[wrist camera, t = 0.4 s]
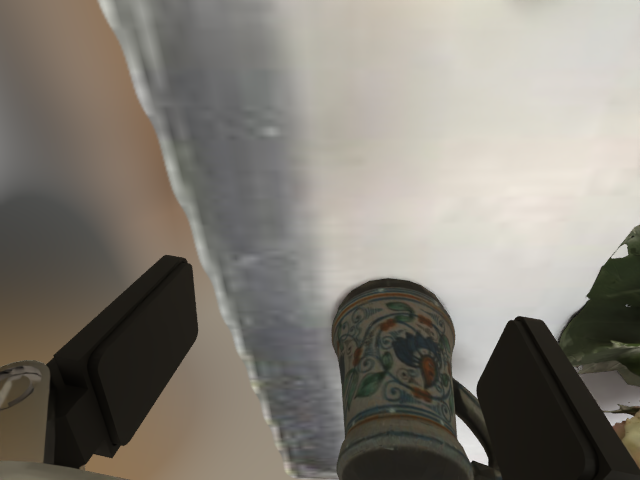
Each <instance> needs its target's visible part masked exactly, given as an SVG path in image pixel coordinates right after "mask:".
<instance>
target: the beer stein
mask: <svg viewBox="0 0 640 480" xmlns="http://www.w3.org/2000/svg"><path fill="white" fill-rule="evenodd" d="M332 344H333V347H334V350H335V353H336V355H337V357H338V361H339V367H340V375H341V383H342V398H343V413H344V427H345V440H344V441H343V443H342V446H341V449H340V453H339V457H338V462H337V475H338V477H339V480H503V479H502V476H501V473H500V469H499V466H498V463H497V460H496V456H495V453H494V450H493V446H492V443H491V440H490V437H489V433H488V430H487V427H486V423H485V420H484V417H483V414H482V410H481V407H480V404H479V400H478V399H477V398H476V397H475V396H474V395H473V394H472V393H471V392H470V391H468V390H467V389H466V388H465V387H464V386H462V385H461V384H460V383H459V382H457V381H456V380H455V379H454V378H453V377H452V367H451V359H452V352H453V348H454V345H455V330H454V326H453V323H452V320H451V318H450V316H449V314H448V313H447V311H446V310H445V309H444V307H443V306H442V305H441V303H440V302H439V300H438V299H437V297H436V296H435V294H433V293H432V292H430V291H429V290H427V289H426V288H424V287H423V286H421V285H419V284H416V283H413V282H410V281H405V280H397V279H389V278H387V279H381V280H374V281H369V282H367V283H365V284H363V285H362V286H360V287H358V288H356V289H354V290H352V291H351V292H350V293H349V295H348V296H347V297H346V298H345V300H344V301H343V302H342V304H341V305H340V306H339V309H338V312H337V315H336V317H335V319H334V322H333V325H332ZM455 414H456V415H457V416H458V417H459V418H460V419H462V420H463V421H464V423H465V424H466V425H467V426H468V427H469V428H470V430H471V431H472V432H473V434H474V435H475V436H476V437H477V439H478V440H479V442H480V443H481V445H482V446H483V448H484V450H485V452H486V454H487V456H488V459H489V460H488V466H487V465H484V464H481V463H478V462H475V461H472V462H471V463H470V461H469V459H468V457H467V455H466V453H465V451H464V449H463V447H462V446H461V444H460V443H459V442H458V440H457V431H456V417H455Z"/></svg>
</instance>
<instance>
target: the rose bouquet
mask: <svg viewBox="0 0 640 480" xmlns="http://www.w3.org/2000/svg"><path fill="white" fill-rule="evenodd" d="M623 244H627V246H628V247H627V248H628V254H629V255H628V256H626V257H624V258H616V259H614V258H613V259H612V258H611V257H612V256H611V257H610V258H609V260H608V261H607V262H606V264H605V265H604V266H603V267H602V268H601V271H600V273H599V275H598V277H597V279H596V281H595V283H594V285H593V287H592V289H591V290H590V292H589V293H588V295H587V297H588V298H589V299H591V300H589V301H588V302H587V304H586V305H585V307H584V308H583V309H582V310H581V312H580V313H579V314H578V315H577V316H576V317H575V318H573V319H572V320H571V322H570V323H569V325H568V326H567V328H566V329H565V330H564V332H563V333H562V336H561V338H560V342H559V346H560V347H561V349H562V350H563V352H564V353H565V355H566V356H567V358H568V359H569V361H570V363H571V364H572V366H573V367H577V368H578V366H580V365H582V367H583V369H582V370H580V371H579V372H578V374H583V373H593V372H604V371H614V370H617V371H618V372H619V373H620V375H621V376H622V377H623V379H624V380H625V381H626V383H627V384H629V385H634V386H639V387H640V225H639V226H637V227H635V228H634V229H633V230H632V231H631V233H630V234H629V235H628V236H627V237H626V239H625V240H624V241H623V242H622V244H621V245H620V246H622V245H623ZM620 246H619V247H620ZM619 247H618V248H619ZM615 252H616V251H615ZM615 252H614V253H615ZM626 304H628V306H631V307H626V306H625V305H626ZM629 403H630V402H629ZM617 405H619V404H617ZM619 406H620V409H619V410H615V411H602V412H611V413H627V414H631V415H633V416H634V417H632V418H631V419H628V418H627V419H626V421H622V423H615V425H614V426H613V429H614V430H615V432H616V433H617V435H618V436H619V438H620V439H621V441H622V442H623V444H624V446H625V447H626V449H627V450H628V452H629V453H630V455H631V456H632V458H633V459H634V461H635V462H636V464H637V465H638V467H639V469H640V407H639V406H631V407H629V406H624V405H619Z"/></svg>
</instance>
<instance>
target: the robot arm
mask: <svg viewBox="0 0 640 480" xmlns="http://www.w3.org/2000/svg"><path fill="white" fill-rule="evenodd" d="M197 334H198V323H197V313H196V302H195V292H194V282H193V270H192V266H191V264H188V263H187V260H186V259H185V258H182V257H176V256H170V255H165V256H163V257H162V258H161V259H160V260H159V261H158V262H156V263H155V264H154V265H153V266H152V267H151V268H150V269H148V271H146V272H145V273H144V274H143V275H142V276H141V277H140V278H139V279H137V280H136V281H135V282H134V283H133V284H132V285H131V286H130V287H129V288H128V289H127V290H125V291H124V292H123V293H122V294H121V295H120V296H119V297H118V298H116V299H115V300H114V301H113V302H112V303H111V304H110V305H109V306H108V307H106V308H105V309H104V310H103V311H102V312H101V313H100V314H99V315H98V316H97V317H96V318H94V319H93V320H92V321H91V322H90V323H89V324H88V325H87V326H86V327H84V328H83V329H82V330H81V331H80V332H79V333H78V334H77V335H76V336H75V337H73V338H72V339H71V340H70V341H69V342H68V343H67V344H66V345H64V346H63V347H62V348H61V349H60V350H59V351H58V352H57V353H56V354H55V355H54V358H53V359H52V360H51V361H50V362H49V363H47V364H46V365H45V364H44V363H41V362H38V361H35V360H33V361H31V360H24V361H19V362H14V363H10V364H7V365H4V366H2V367H0V480H128V479H123V478H118V477H113V476H109V475H104V474H99V473H94V472H89V471H85V464H86V463H87V462H88V461H89V459H90V458H91V456H92V455H93V454H96V455H100V456H105V457H109V458H113V456H114V455H115V453H116V451H117V450H118V449H119V447H120V446H121V445H122V446H124V445H126V444H127V443H128V442H129V441H130V440H131V438H132V437H133V435H134V434H135V432H136V431H137V429H138V428H139V426H140V425H141V423H142V422H143V420H144V419H145V417H146V415H147V414H148V412H149V411H150V409H151V408H152V406H153V405H154V403H155V402H156V400H157V398H158V397H159V395H160V394H161V392H162V391H163V389H164V388H165V386H166V385H167V383H168V382H169V380H170V379H171V377H172V376H173V374H174V373H175V371H176V370H177V368H178V366H179V365H180V363H181V362H182V360H183V359H184V357H185V356H186V354H187V353H188V351H189V350H190V348H191V347H192V345H193V343H194V342H195V340H196V337H197ZM477 397H478V400H479V404H480V407H481V410H482V414H483V417H484V420H485V423H486V427H487V430H488V433H489V437H490V440H491V443H492V446H493V450H494V453H495V456H496V460H497V463H498V466H499V469H500V473H501V476H502V479H503V480H640V469H639V467H638V465H637V464H636V462H635V461H634V459H633V458H632V456H631V455H630V453H629V452H628V450H627V449H626V447H625V446H624V444H623V442H622V441H621V439H620V438H619V436H618V435H617V433H616V432H615V430H614V429H613V427H612V426H611V424H610V422H609V421H608V419H607V418H606V416H605V415H604V413H603V412H602V410H601V409H600V407H599V406H598V404H597V402H596V401H595V399H594V398H593V396H592V395H591V393H590V392H589V390H588V389H587V387H586V386H585V384H584V383H583V381H582V379H581V378H580V376H579V375H578V373H577V372H576V370H575V369H574V367H573V366H572V364H571V363H570V361H569V359H568V358H567V356H566V355H565V353H564V352H563V350H562V349H561V347H560V346H559V344H558V343H557V341H556V339H555V338H554V336H553V335H552V333H551V332H550V330H549V329H548V327H547V326H546V324H545V323H544V322H543V321H542V320H539V319H533V318H527V317H522V316H518V317H516V318H515V320H510V321H509V322H508V323H507V325H506V327H505V329H504V331H503V333H502V335H501V337H500V339H499V341H498V343H497V345H496V347H495V349H494V351H493V353H492V355H491V357H490V359H489V361H488V363H487V365H486V367H485V369H484V371H483V373H482V375H481V377H480V379H479V381H478V384H477Z"/></svg>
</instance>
